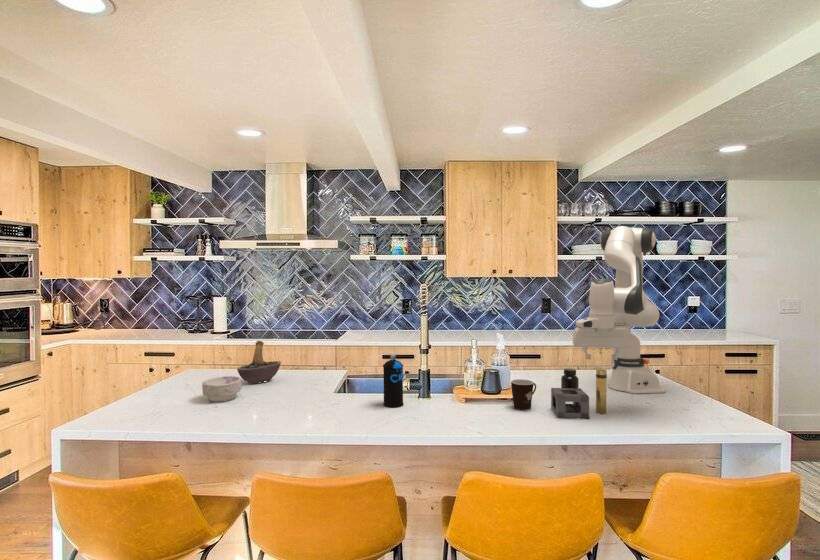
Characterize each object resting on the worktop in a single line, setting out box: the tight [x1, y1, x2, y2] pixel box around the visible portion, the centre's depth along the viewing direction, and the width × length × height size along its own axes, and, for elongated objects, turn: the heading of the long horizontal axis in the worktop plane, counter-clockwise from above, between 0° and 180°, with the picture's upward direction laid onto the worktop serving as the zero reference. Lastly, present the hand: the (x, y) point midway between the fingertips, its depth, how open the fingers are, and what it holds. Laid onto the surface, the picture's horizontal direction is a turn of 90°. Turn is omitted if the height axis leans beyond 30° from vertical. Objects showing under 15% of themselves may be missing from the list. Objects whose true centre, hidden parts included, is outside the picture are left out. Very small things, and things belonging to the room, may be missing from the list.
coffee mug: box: [510, 378, 537, 411], centre depth 174 cm, size 12×9×10 cm
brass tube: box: [595, 368, 608, 415], centre depth 167 cm, size 4×4×16 cm
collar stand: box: [550, 387, 590, 420], centre depth 166 cm, size 11×11×8 cm
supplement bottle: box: [560, 368, 580, 388], centre depth 185 cm, size 7×7×12 cm
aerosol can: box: [382, 354, 405, 409], centre depth 178 cm, size 8×8×20 cm
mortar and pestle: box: [236, 340, 282, 384], centre depth 214 cm, size 15×17×20 cm
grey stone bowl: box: [201, 375, 243, 403], centre depth 188 cm, size 15×15×8 cm
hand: (601, 359), depth 166 cm, fingers open, 8 cm apart
